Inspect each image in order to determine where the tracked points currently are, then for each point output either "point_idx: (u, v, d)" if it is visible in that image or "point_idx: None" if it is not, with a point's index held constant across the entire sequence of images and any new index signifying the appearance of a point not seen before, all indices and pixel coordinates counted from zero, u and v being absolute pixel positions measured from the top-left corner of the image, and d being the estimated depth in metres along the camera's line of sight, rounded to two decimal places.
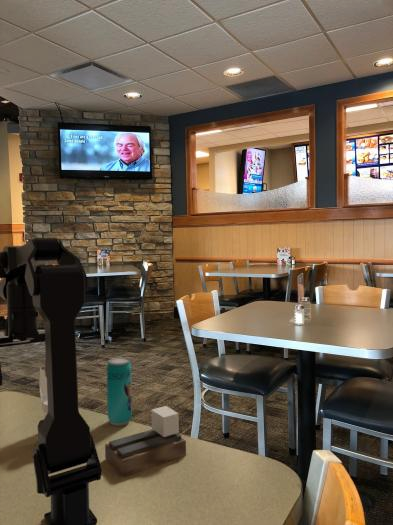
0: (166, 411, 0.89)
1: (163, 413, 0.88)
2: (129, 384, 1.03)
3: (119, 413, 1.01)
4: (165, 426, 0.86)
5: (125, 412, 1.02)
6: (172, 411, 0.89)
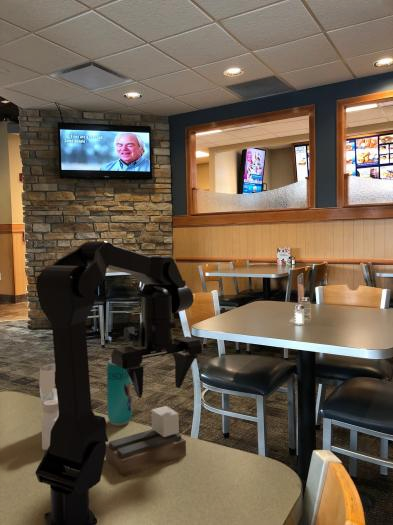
0: (166, 411, 0.89)
1: (163, 413, 0.88)
2: (129, 384, 1.03)
3: (119, 413, 1.01)
4: (165, 426, 0.86)
5: (126, 412, 1.02)
6: (172, 411, 0.89)
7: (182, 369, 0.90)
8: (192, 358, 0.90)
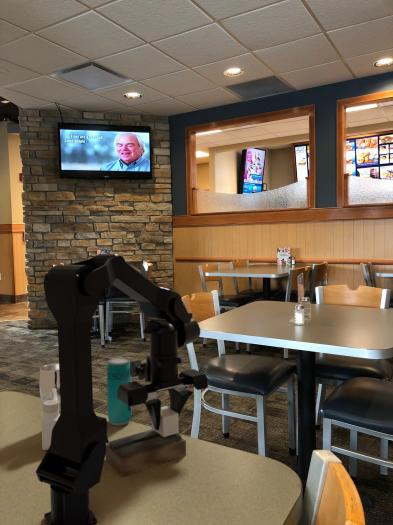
0: (166, 411, 0.89)
1: (163, 413, 0.88)
2: None
3: (119, 413, 1.01)
4: (164, 426, 0.86)
5: (125, 412, 1.02)
6: (172, 411, 0.89)
7: (177, 406, 0.89)
8: (187, 395, 0.89)
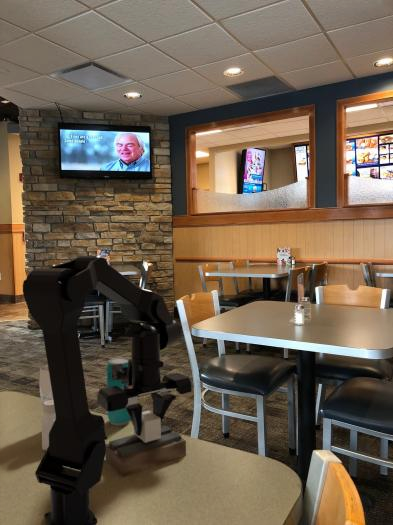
0: (148, 416, 0.87)
1: (144, 418, 0.86)
2: None
3: (119, 413, 1.01)
4: (146, 431, 0.84)
5: (126, 412, 1.02)
6: (154, 416, 0.87)
7: (159, 411, 0.87)
8: (170, 400, 0.86)
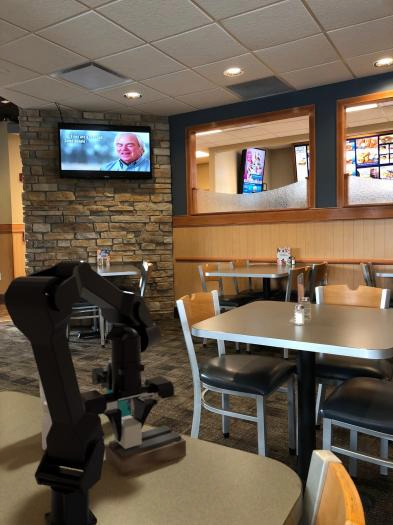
0: (129, 421, 0.84)
1: (125, 423, 0.83)
2: None
3: None
4: (126, 437, 0.82)
5: (126, 412, 1.02)
6: (135, 421, 0.84)
7: (140, 416, 0.84)
8: (151, 405, 0.84)
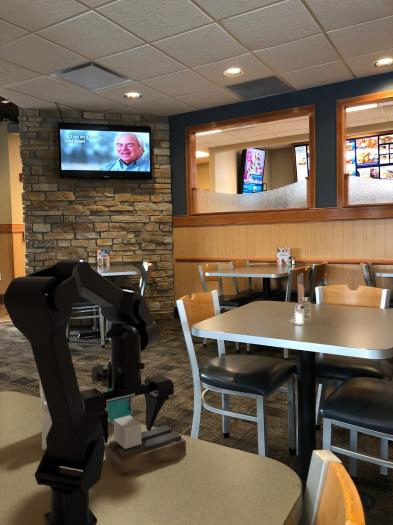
0: (128, 421, 0.84)
1: (125, 423, 0.83)
2: None
3: (119, 413, 1.01)
4: (126, 437, 0.82)
5: (125, 412, 1.02)
6: (135, 421, 0.84)
7: (152, 411, 0.86)
8: (163, 400, 0.85)
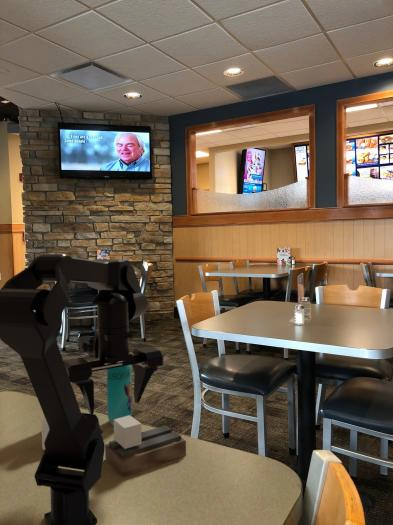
0: (128, 421, 0.84)
1: (125, 423, 0.83)
2: (129, 384, 1.03)
3: (119, 413, 1.01)
4: (126, 437, 0.82)
5: (125, 412, 1.02)
6: (135, 421, 0.84)
7: (140, 382, 0.83)
8: (151, 370, 0.83)
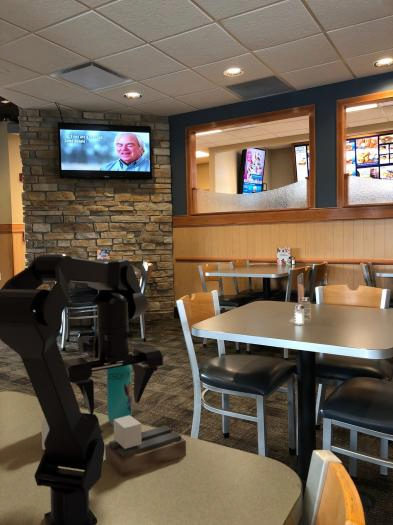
0: (128, 421, 0.84)
1: (125, 423, 0.83)
2: (129, 384, 1.03)
3: (119, 413, 1.01)
4: (126, 437, 0.82)
5: (126, 412, 1.02)
6: (135, 421, 0.84)
7: (140, 382, 0.83)
8: (151, 370, 0.83)
